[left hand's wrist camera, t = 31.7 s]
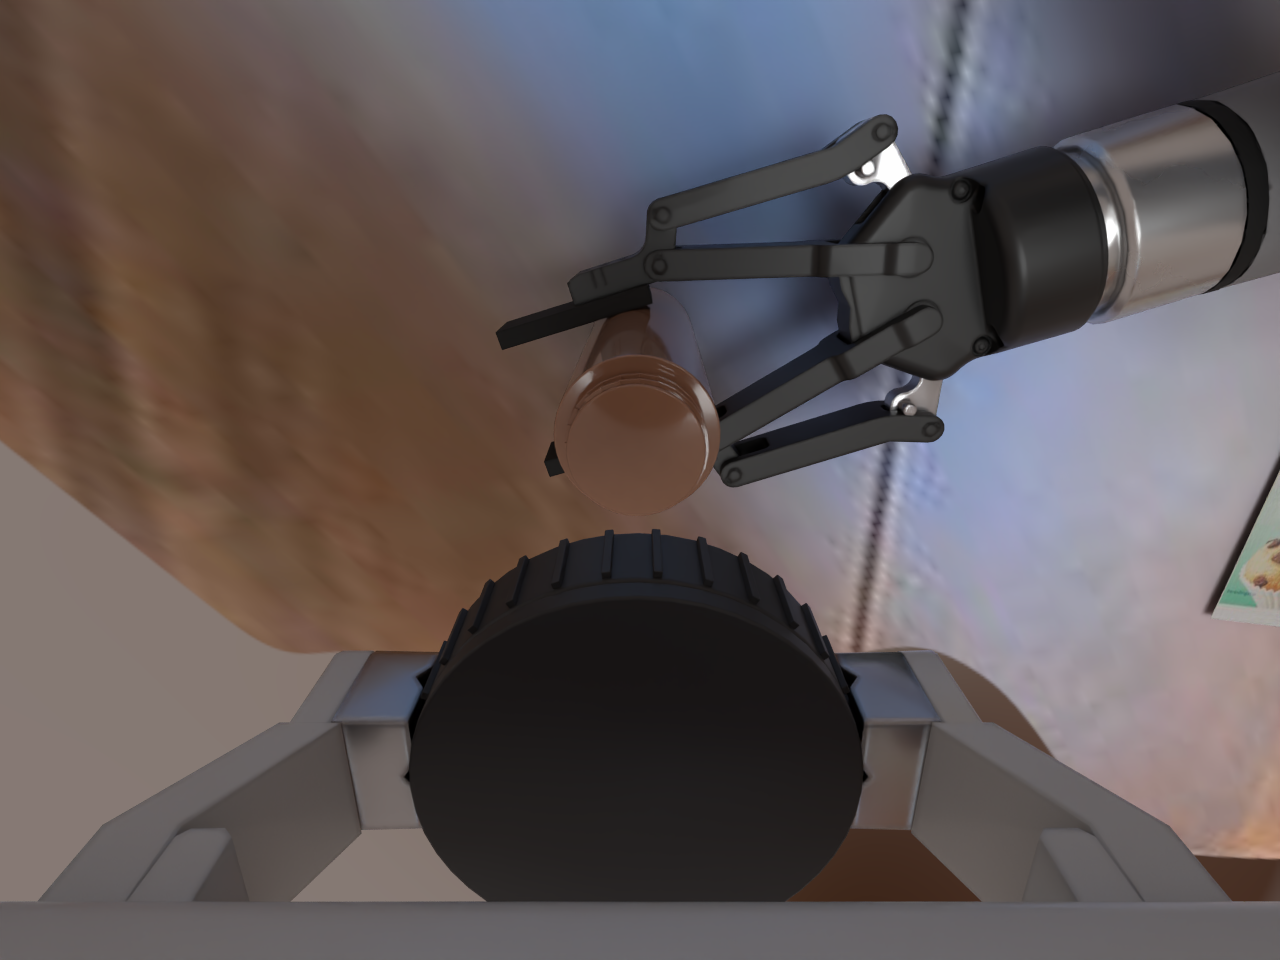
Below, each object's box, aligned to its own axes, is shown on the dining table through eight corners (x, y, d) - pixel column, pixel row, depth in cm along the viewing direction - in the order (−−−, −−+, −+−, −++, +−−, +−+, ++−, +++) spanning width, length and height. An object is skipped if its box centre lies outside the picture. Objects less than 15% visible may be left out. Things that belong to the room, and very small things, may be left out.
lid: (512, 461, 9) (488, 515, 8) (913, 615, 10) (962, 692, 8) (388, 784, 11) (349, 879, 10) (730, 889, 12) (743, 990, 11)
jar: (711, 349, 38) (759, 473, 21) (631, 403, 39) (616, 562, 22) (655, 265, 36) (658, 328, 19) (573, 325, 37) (511, 432, 21)
